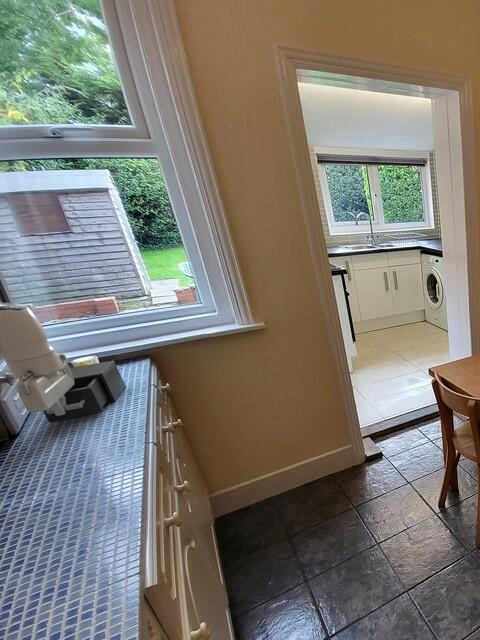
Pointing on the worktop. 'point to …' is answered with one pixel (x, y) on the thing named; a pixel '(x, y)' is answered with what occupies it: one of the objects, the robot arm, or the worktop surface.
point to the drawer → (82, 399)
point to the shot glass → (85, 360)
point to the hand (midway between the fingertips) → (62, 413)
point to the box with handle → (102, 377)
